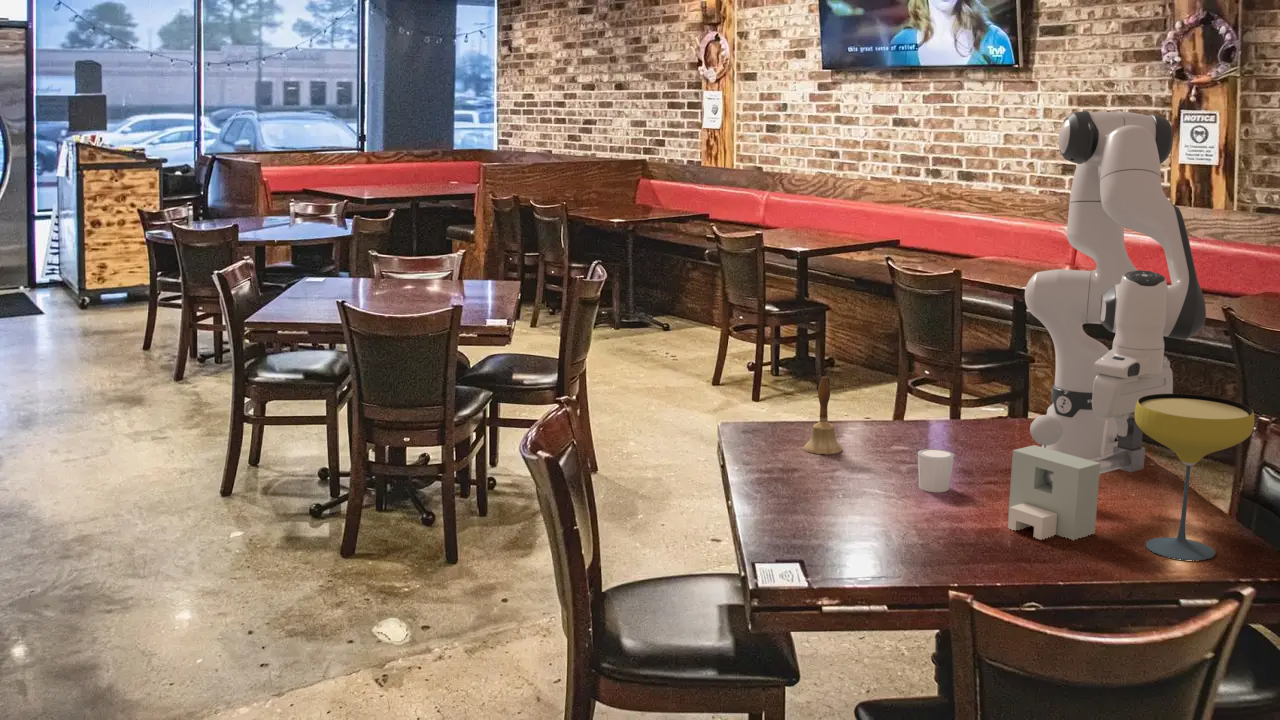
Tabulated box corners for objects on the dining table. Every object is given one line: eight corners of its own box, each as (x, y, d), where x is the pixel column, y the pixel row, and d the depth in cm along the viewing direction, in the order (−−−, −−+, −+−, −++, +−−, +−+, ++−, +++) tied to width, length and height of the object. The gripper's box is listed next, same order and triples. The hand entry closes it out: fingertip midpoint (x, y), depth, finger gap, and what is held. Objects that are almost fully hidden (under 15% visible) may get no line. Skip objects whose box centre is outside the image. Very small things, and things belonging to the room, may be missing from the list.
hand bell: (802, 453, 269) (805, 380, 266) (804, 443, 277) (806, 372, 274) (842, 455, 268) (845, 382, 264) (842, 445, 276) (845, 373, 272)
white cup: (952, 494, 242) (954, 459, 241) (916, 492, 244) (917, 456, 242) (951, 483, 249) (953, 449, 248) (915, 481, 250) (917, 447, 249)
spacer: (1022, 524, 226) (1024, 503, 225) (1055, 535, 220) (1057, 513, 219) (1007, 528, 224) (1009, 507, 223) (1041, 540, 218) (1042, 517, 217)
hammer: (1124, 463, 239) (1129, 412, 237) (1143, 468, 236) (1148, 416, 233) (1040, 486, 224) (1044, 431, 222) (1059, 492, 221) (1063, 436, 219)
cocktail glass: (1257, 570, 204) (1275, 420, 199) (1144, 568, 205) (1158, 418, 200) (1213, 532, 222) (1227, 394, 217) (1108, 530, 223) (1120, 392, 218)
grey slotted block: (1029, 512, 232) (1034, 445, 229) (1094, 533, 221) (1100, 463, 218) (1008, 518, 229) (1012, 450, 226) (1073, 540, 218) (1079, 468, 215)
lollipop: (1018, 487, 247) (1024, 412, 244) (1043, 484, 249) (1048, 410, 246) (1040, 496, 241) (1046, 420, 238) (1064, 493, 243) (1070, 417, 240)
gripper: (1154, 351, 240) (1147, 422, 243) (1088, 364, 229) (1082, 438, 231) (1185, 357, 235) (1178, 429, 238) (1119, 370, 224) (1112, 446, 226)
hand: (1130, 433), depth 235 cm, fingers closed on hammer, 3 cm apart
